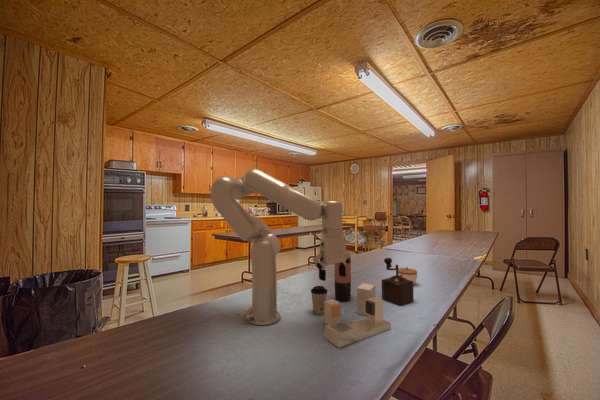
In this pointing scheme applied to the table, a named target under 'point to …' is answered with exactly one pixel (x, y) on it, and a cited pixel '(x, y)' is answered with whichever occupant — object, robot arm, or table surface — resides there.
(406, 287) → the manual coffee grinder
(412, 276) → the lidded jar
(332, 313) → the beige orange block
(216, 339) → the table surface
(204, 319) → the table surface
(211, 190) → the robot arm
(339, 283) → the travel mug
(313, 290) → the coffee cup
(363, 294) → the small box
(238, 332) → the table surface
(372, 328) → the rail
